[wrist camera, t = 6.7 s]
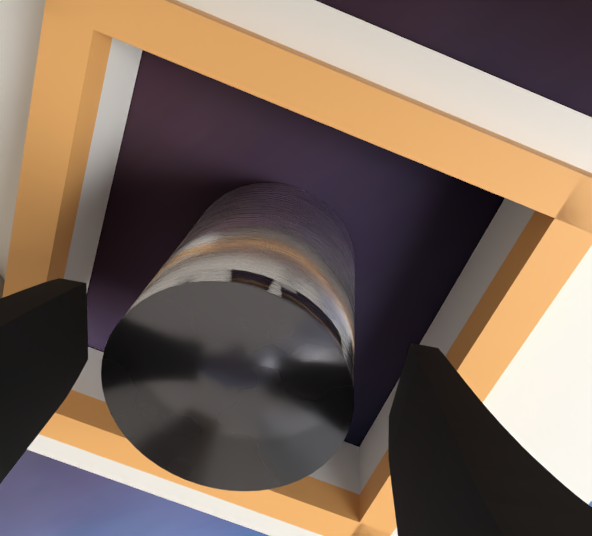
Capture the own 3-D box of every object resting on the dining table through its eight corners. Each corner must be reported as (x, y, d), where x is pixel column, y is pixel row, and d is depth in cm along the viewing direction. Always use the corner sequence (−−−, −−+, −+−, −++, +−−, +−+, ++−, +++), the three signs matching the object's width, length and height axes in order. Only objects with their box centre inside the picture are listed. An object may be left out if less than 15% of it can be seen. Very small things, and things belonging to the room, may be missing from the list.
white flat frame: (776, 196, 13) (884, 241, 11) (476, 558, 20) (496, 644, 17) (-87, -170, 12) (-218, -226, 9) (-107, 347, 18) (-188, 404, 16)
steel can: (370, 199, 14) (379, 311, 9) (338, 346, 17) (329, 510, 11) (196, 168, 15) (98, 260, 9) (186, 318, 17) (101, 466, 11)
